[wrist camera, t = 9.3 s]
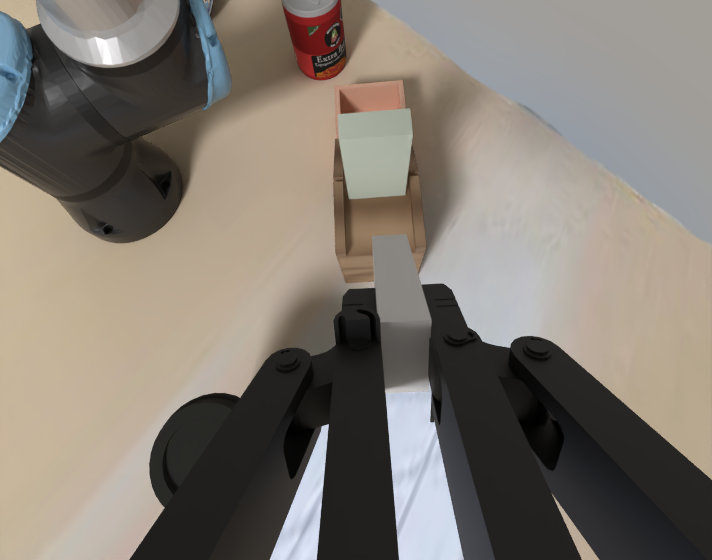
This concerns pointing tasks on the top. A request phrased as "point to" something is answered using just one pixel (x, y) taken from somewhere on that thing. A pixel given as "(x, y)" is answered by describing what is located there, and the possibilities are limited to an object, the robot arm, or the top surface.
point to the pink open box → (368, 98)
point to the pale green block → (376, 152)
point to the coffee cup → (186, 441)
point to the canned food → (317, 36)
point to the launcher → (374, 222)
